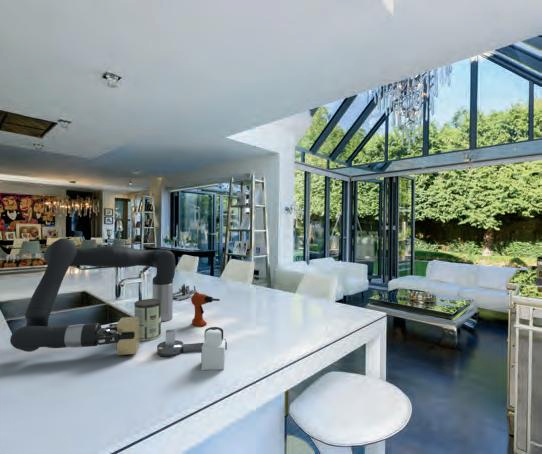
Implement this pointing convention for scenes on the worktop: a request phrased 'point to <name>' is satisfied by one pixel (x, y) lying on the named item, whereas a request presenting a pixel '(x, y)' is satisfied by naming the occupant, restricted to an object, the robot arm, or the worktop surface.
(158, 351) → the ratchet
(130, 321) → the brushed brass block
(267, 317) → the worktop surface
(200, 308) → the toy drill
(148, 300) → the coffee can
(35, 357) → the worktop surface
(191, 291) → the grey toy warship
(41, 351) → the worktop surface
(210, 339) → the medicine bottle
